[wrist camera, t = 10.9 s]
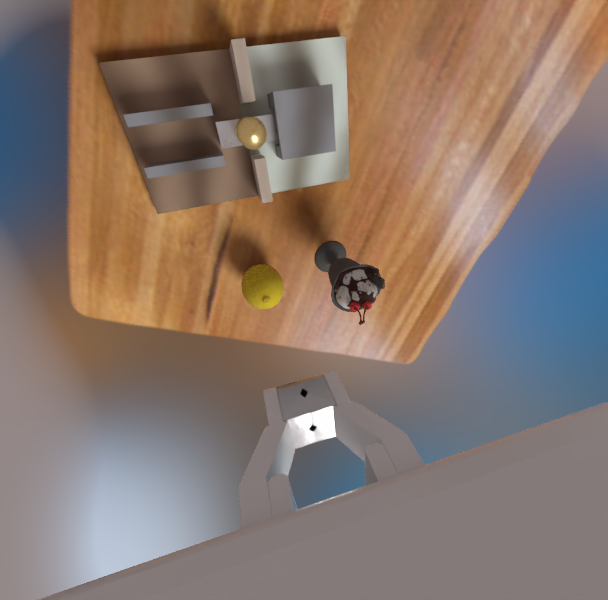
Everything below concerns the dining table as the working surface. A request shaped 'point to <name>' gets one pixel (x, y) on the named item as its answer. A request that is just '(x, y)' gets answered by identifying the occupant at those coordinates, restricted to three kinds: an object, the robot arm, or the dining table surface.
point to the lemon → (262, 286)
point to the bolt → (247, 131)
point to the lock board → (234, 105)
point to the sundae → (349, 279)
